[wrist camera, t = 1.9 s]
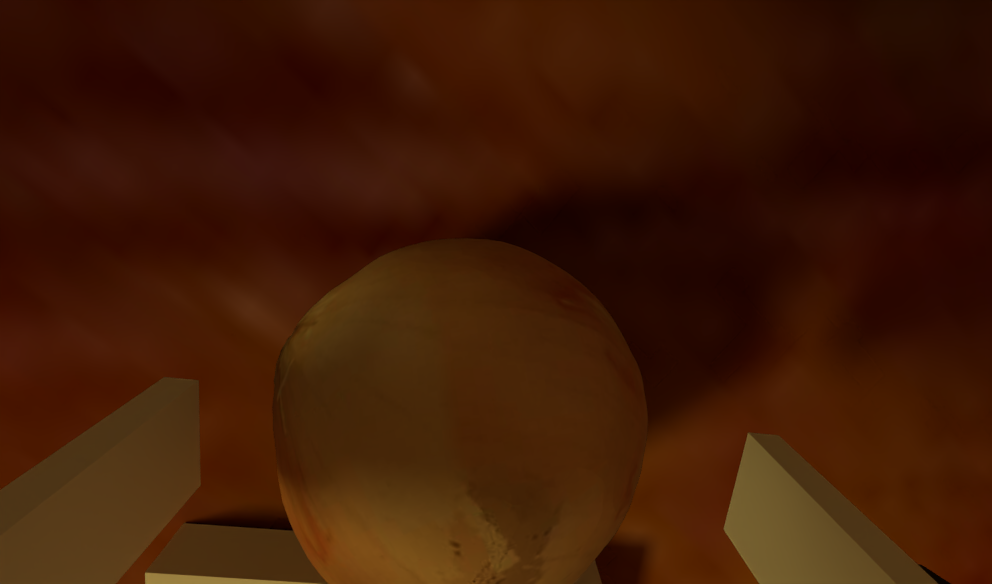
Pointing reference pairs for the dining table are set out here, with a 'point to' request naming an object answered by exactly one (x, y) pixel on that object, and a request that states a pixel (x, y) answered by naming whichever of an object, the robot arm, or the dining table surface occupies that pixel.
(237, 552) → the dish
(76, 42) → the dining table surface
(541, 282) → the onion
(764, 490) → the robot arm
